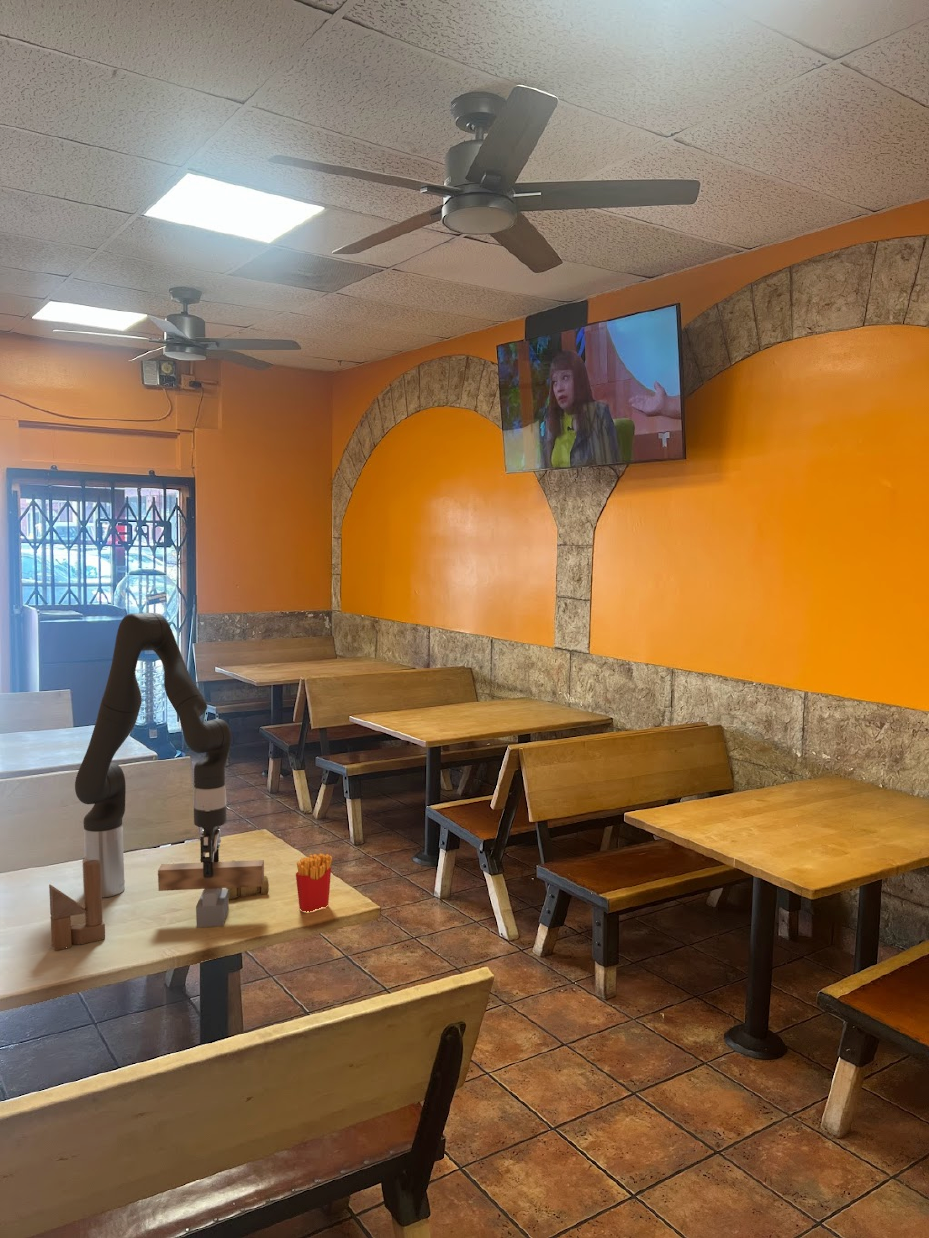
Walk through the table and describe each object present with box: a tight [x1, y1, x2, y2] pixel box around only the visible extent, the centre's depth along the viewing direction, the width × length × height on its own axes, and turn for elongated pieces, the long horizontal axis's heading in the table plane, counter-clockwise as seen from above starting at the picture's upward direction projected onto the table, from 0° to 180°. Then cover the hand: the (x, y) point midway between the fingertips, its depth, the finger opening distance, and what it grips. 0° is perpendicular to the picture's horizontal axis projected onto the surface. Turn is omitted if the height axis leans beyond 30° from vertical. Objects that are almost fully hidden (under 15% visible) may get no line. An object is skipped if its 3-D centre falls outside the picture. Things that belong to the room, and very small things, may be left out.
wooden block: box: [48, 860, 106, 951], centre depth 205 cm, size 4×11×18 cm, turn 125°
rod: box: [157, 859, 265, 892], centre depth 218 cm, size 24×4×5 cm, turn 97°
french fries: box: [295, 852, 333, 912], centre depth 224 cm, size 9×4×13 cm, turn 128°
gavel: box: [225, 875, 270, 900], centre depth 240 cm, size 21×5×10 cm
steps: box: [195, 888, 230, 928], centre depth 219 cm, size 6×10×8 cm, turn 7°
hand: (211, 870), depth 218 cm, fingers open, 8 cm apart
